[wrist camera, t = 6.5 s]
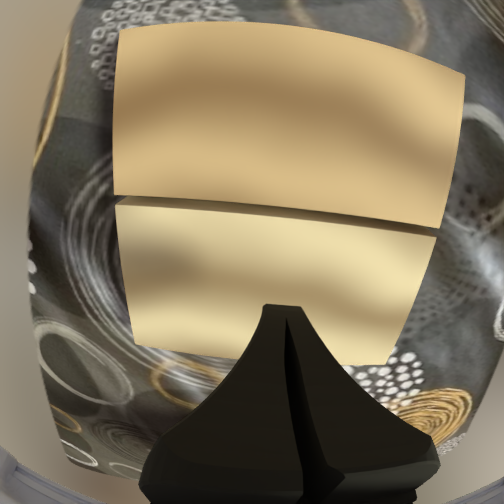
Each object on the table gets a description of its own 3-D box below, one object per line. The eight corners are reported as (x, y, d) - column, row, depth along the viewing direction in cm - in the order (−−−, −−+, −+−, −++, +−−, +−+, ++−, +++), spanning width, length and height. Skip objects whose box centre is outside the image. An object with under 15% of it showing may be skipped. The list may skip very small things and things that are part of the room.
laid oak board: (426, 217, 14) (439, 228, 13) (127, 186, 14) (114, 194, 13) (449, 76, 11) (465, 75, 9) (133, 36, 11) (120, 30, 10)
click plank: (379, 349, 19) (384, 364, 17) (142, 329, 19) (135, 343, 17) (424, 226, 15) (436, 237, 13) (127, 196, 15) (115, 204, 13)
